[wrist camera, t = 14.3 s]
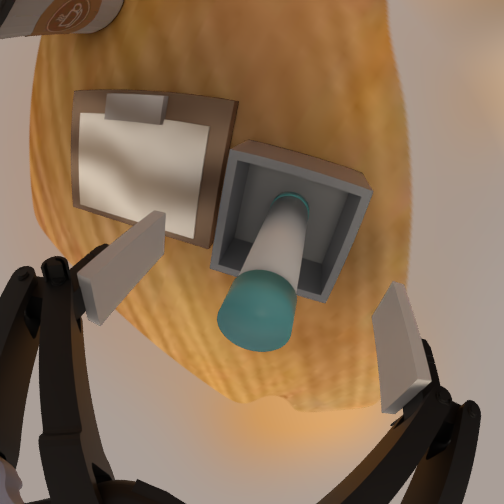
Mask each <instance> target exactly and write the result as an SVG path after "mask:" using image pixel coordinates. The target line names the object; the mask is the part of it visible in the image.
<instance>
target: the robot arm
mask: <svg viewBox="0 0 504 504" xmlns="http://www.w3.org/2000/svg"><path fill="white" fill-rule="evenodd" d="M165 222H166V213H164V212H160V211H156V210H154V211H152V212H151V213H150V214H148V215H147V216H146V217H144V218H143V219H142V220H141V221H139V222H138V223H137V224H135V225H134V226H133V227H131V228H130V229H129V230H128V231H126V232H125V233H124V234H123V235H121V236H120V237H119V238H118V239H116V240H115V241H114V242H113V243H111V244H110V245H108V244H103V245H101V246H98V247H96V248H95V249H94V250H92V251H91V252H90V254H87V255H86V256H85V257H84V258H83V259H81V260H80V261H79V262H78V263H77V264H75V265H74V266H73V267H72V268H71V269H70V270H69V266H68V261H67V259H66V258H64V257H61V256H55V257H51V258H49V259H47V260H45V261H44V262H43V263H42V265H41V270H42V273H43V277H37V276H36V274H35V271H34V269H33V268H32V267H29V266H23V267H20V268H19V269H17V270H16V271H15V272H14V273H13V275H12V276H11V278H10V280H9V282H8V283H7V285H6V287H5V289H4V291H3V293H2V295H1V297H0V504H185V503H184V502H182V501H181V500H179V499H177V498H176V497H174V496H173V495H171V494H170V493H168V492H166V491H164V490H162V489H159V488H157V487H154V486H152V485H149V484H147V483H145V482H143V481H140V480H138V479H137V481H136V482H135V481H128V480H115V478H114V475H113V472H112V470H111V467H110V464H109V462H108V460H107V458H106V456H105V454H104V451H103V447H102V444H101V440H100V436H99V432H98V428H97V424H96V420H95V414H94V410H93V404H92V399H91V394H90V388H89V381H88V375H87V367H86V358H85V349H84V337H83V323H82V318H81V316H82V315H83V314H84V312H85V311H86V314H87V317H88V320H89V321H91V322H93V323H95V324H97V325H99V326H101V325H102V324H103V323H104V321H105V320H106V319H107V318H108V317H109V315H110V314H111V313H112V312H113V311H114V310H115V308H116V307H117V306H118V305H119V304H120V303H121V301H122V300H123V299H124V298H125V297H126V296H127V294H128V293H129V292H130V291H131V290H132V289H133V288H134V286H135V285H136V284H137V283H138V282H139V281H140V280H141V279H142V277H143V276H144V275H145V274H146V273H147V272H148V271H149V270H150V269H151V267H152V266H153V265H154V264H155V263H156V262H157V261H158V260H159V259H160V258H161V257H162V255H163V254H164V240H165ZM372 322H373V328H374V336H375V343H376V351H377V360H378V370H379V380H380V393H381V408H382V413H390V414H396V413H397V412H398V411H399V410H400V409H402V408H403V415H402V416H401V417H400V418H398V419H397V420H396V421H395V422H393V423H392V424H391V426H392V428H391V429H390V430H389V431H388V433H387V434H386V435H385V436H384V437H383V439H382V440H381V441H380V442H379V443H378V444H377V446H376V447H375V448H374V449H373V450H372V451H371V452H370V453H369V454H368V455H367V457H366V458H365V459H364V460H363V461H362V462H361V463H360V464H359V465H358V466H357V467H356V468H355V469H354V470H353V471H352V472H351V473H350V474H349V475H348V476H347V477H346V478H345V479H344V480H343V481H342V482H341V483H340V484H338V485H337V486H336V487H335V488H334V489H333V490H332V491H331V492H330V493H329V494H327V495H326V496H325V497H324V498H323V499H321V500H320V501H319V502H318V503H317V504H389V502H390V501H391V500H392V499H393V497H394V496H395V495H396V494H397V493H398V491H399V490H400V489H401V487H402V486H403V485H404V483H405V482H406V481H407V479H408V478H409V476H410V475H411V474H412V472H413V471H414V469H415V468H416V466H417V468H416V470H415V473H414V475H413V478H412V480H411V482H410V485H409V487H408V489H407V491H406V493H405V495H404V497H403V500H402V502H401V504H462V502H463V499H464V496H465V493H466V489H467V486H468V482H469V478H470V474H471V471H472V466H473V462H474V457H475V452H476V447H477V441H478V435H479V428H480V420H481V411H480V408H479V406H478V405H477V404H476V403H475V402H474V401H472V400H467V402H465V403H464V404H463V405H459V404H457V403H455V402H453V401H452V398H451V395H450V393H449V392H448V390H447V389H445V388H444V387H442V386H440V382H439V377H438V373H437V370H436V365H435V364H434V363H435V362H434V358H433V354H432V351H431V347H430V346H429V344H428V343H427V341H426V340H425V339H421V337H420V333H419V330H418V326H417V323H416V320H415V317H414V313H413V311H412V307H411V304H410V301H409V298H408V295H407V292H406V289H405V287H404V284H400V283H397V282H394V281H392V283H391V285H390V287H389V288H388V290H387V292H386V294H385V295H384V297H383V299H382V301H381V302H380V304H379V306H378V307H377V309H376V310H375V312H374V314H373V315H372ZM38 347H39V388H40V403H41V414H42V424H43V433H42V434H41V435H40V436H39V450H40V456H41V461H42V466H43V471H44V475H45V480H46V484H47V488H48V491H49V495H50V498H48V499H43V500H39V501H34V502H29V503H24V502H23V500H22V498H21V496H20V492H19V490H20V489H21V488H22V481H21V479H20V478H19V476H18V474H17V472H16V470H15V469H16V466H17V462H18V457H19V451H20V442H21V433H22V424H23V416H24V410H25V404H26V398H27V393H28V388H29V383H30V378H31V374H32V370H33V366H34V362H35V358H36V354H37V350H38Z"/></svg>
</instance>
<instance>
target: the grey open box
mask: <svg viewBox="0 0 504 504" xmlns="http://www.w3.org/2000/svg"><path fill="white" fill-rule="evenodd" d="M284 192H295V193H298V194H300V195H301V196H302V197H304V198H305V200H306V201H307V203H308V205H309V218H308V221H307V228H306V235H305V242H304V248H303V255H302V261H301V267H300V274H299V280H298V286H297V291H296V295H298V296H302V297H305V298H309V299H312V300H315V301H319V302H322V303H326V301H327V299H328V297H329V295H330V293H331V291H332V289H333V287H334V285H335V282H336V280H337V278H338V276H339V274H340V272H341V269H342V267H343V265H344V263H345V260H346V258H347V256H348V253H349V251H350V249H351V247H352V244H353V242H354V239H355V237H356V235H357V232H358V230H359V227H360V225H361V222H362V220H363V217H364V215H365V212H366V210H367V207H368V204H369V202H370V199H371V197H372V194H373V190H372V188H371V186H370V185H369V183H368V182H367V180H366V178H365V177H364V175H363V174H362V173H361V172H358V171H355V170H353V169H350V168H347V167H344V166H341V165H338V164H335V163H332V162H329V161H325V160H322V159H319V158H316V157H312V156H309V155H306V154H302V153H299V152H295V151H292V150H288V149H284V148H281V147H277V146H273V145H269V144H265V143H261V142H257V141H252V140H247V141H245V142H243V143H241V144H239V145H237V146H235V147H233V148H231V149H230V152H229V157H228V162H227V168H226V173H225V179H224V184H223V190H222V195H221V201H220V207H219V213H218V219H217V225H216V231H215V238H214V244H213V250H212V257H211V264H210V269H213V270H216V271H219V272H223V273H226V274H229V275H232V276H235V277H238V275H239V273H240V271H241V269H242V267H243V265H244V263H245V261H246V259H247V256H248V254H249V252H250V250H251V248H252V246H253V244H254V242H255V240H256V237H257V235H258V233H259V231H260V229H261V227H262V225H263V223H264V221H265V218H266V216H267V214H268V212H269V210H270V207H271V204H272V202H273V200H274V199H275V198H276V197H277V196H278V195H279V194H281V193H284Z"/></svg>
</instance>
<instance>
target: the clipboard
mask: <svg viewBox="0 0 504 504" xmlns="http://www.w3.org/2000/svg"><path fill="white" fill-rule="evenodd" d="M238 103H239V101H234V100H228V99H222V98H215V97H208V96H201V95H193V94H184V93H174V92H162V91H147V90H79V91H74V99H73V111H72V129H71V178H72V196H73V207H76V208H79V209H82V210H85V211H89V212H92V213H95V214H98V215H101V216H104V217H107V218H110V219H113V220H117V221H120V222H123V223H126V224H129V225H132V226H134V225H135V224H137V223H138V222H139V221H141V220H142V219H143V218H144V217H146V216H147V215H148V214H150V213H151V212H152V211H154V210H156V211H160V212H164V213H166V222H165V236H167V237H171V238H174V239H177V240H180V241H183V242H187V243H190V244H193V245H196V246H200V247H203V248H206V249H209V248H210V246H211V245H212V244H213V239H214V233H215V227H216V221H217V215H218V209H219V203H220V197H221V191H222V185H223V180H224V174H225V169H226V163H227V158H228V153H229V147H230V142H231V137H232V132H233V127H234V122H235V117H236V113H237V108H238Z"/></svg>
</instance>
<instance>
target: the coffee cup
mask: <svg viewBox="0 0 504 504" xmlns="http://www.w3.org/2000/svg"><path fill="white" fill-rule="evenodd" d="M122 4H123V0H0V39H5V38H11V37H19V36H25V37H27V36H35V35H36V36H37V35H52V34H69V33H93V32H96V31H98V30H101V29H102V28H104V27H106V26H107V25H108V24H109V23H110V22H111V21H112V20H113V19H114V18H115V17H116V15H117V14H118V12H119V10H120V9H121V6H122Z"/></svg>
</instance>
